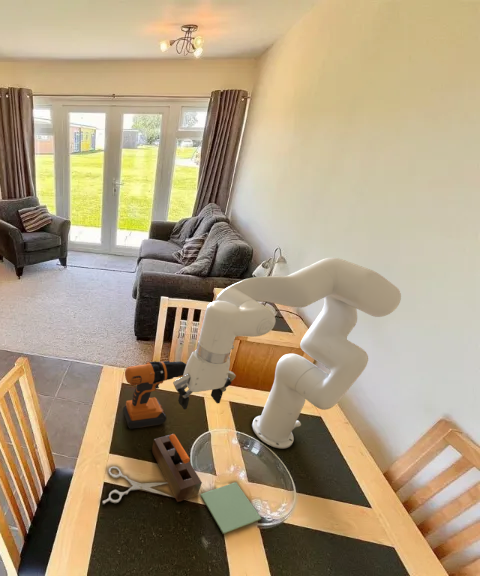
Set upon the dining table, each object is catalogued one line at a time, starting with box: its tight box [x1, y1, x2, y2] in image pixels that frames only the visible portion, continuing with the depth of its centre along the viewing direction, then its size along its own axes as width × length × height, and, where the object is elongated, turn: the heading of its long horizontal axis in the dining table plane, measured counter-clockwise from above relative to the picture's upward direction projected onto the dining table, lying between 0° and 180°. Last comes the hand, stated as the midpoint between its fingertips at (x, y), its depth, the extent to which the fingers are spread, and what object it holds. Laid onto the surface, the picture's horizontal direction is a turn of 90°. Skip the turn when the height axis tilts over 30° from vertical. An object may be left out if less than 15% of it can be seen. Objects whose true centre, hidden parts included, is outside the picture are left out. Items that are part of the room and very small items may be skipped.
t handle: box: [169, 433, 191, 465], centre depth 91 cm, size 2×8×12 cm, turn 17°
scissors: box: [102, 465, 174, 505], centre depth 90 cm, size 11×1×20 cm
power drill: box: [122, 360, 187, 429], centre depth 106 cm, size 22×7×25 cm, turn 101°
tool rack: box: [151, 433, 203, 503], centre depth 93 cm, size 7×16×6 cm, turn 18°
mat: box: [200, 481, 262, 535], centre depth 86 cm, size 12×10×1 cm
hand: (198, 402), depth 83 cm, fingers open, 9 cm apart
